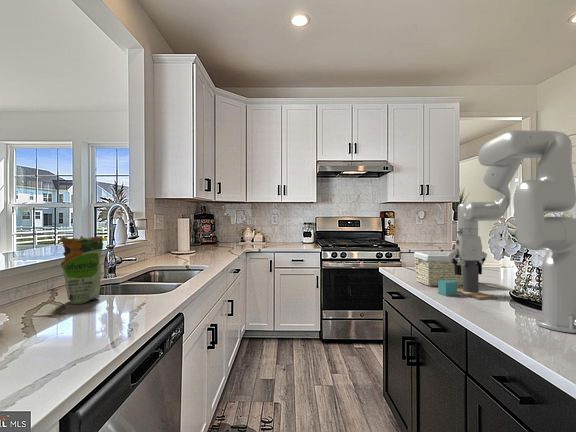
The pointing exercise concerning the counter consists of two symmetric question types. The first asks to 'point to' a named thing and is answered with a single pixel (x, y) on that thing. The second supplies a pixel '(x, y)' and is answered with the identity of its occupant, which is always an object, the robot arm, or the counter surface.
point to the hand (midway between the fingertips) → (468, 274)
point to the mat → (450, 295)
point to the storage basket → (436, 268)
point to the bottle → (470, 276)
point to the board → (475, 294)
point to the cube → (447, 287)
